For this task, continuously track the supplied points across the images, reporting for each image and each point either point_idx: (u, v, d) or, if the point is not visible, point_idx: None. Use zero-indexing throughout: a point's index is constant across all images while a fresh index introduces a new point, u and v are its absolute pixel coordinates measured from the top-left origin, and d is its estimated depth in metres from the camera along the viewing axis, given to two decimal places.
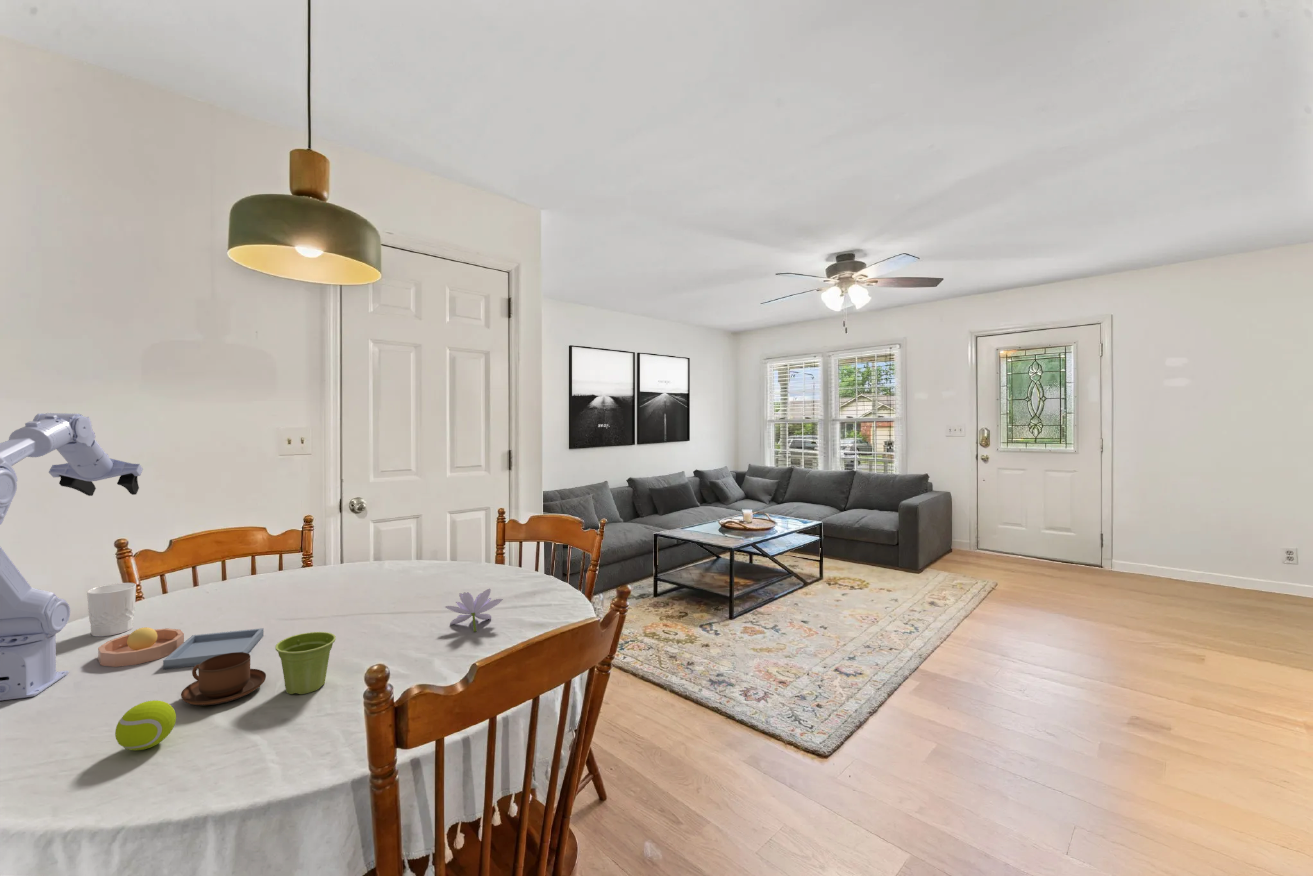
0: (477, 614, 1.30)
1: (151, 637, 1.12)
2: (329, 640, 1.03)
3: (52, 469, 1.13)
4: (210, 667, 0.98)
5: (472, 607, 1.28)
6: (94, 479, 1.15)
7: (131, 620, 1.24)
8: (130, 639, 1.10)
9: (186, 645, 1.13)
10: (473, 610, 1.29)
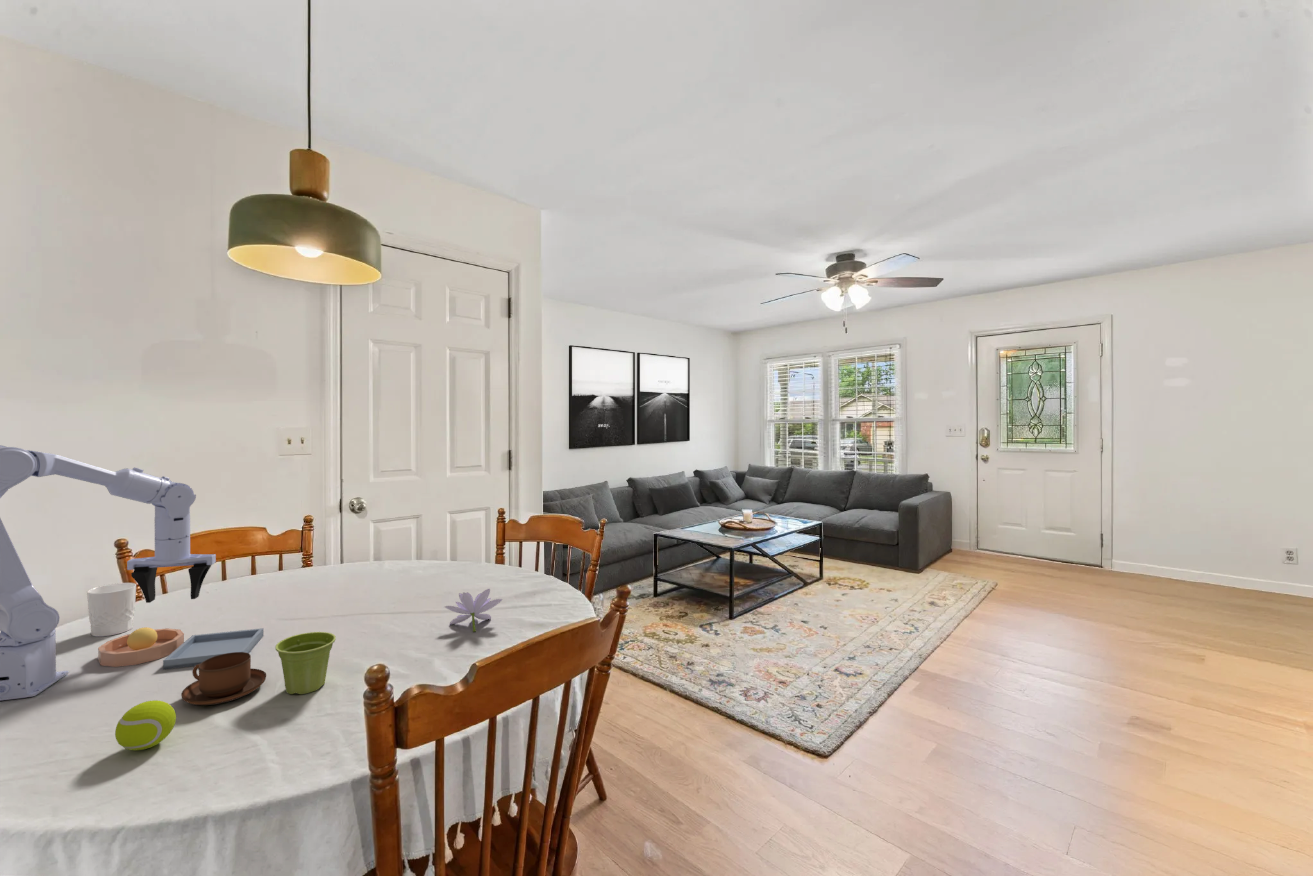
0: (476, 614, 1.30)
1: (151, 637, 1.12)
2: (329, 640, 1.03)
3: (130, 560, 1.13)
4: (210, 667, 0.98)
5: (471, 607, 1.28)
6: (170, 561, 1.14)
7: (131, 620, 1.24)
8: (130, 639, 1.10)
9: (186, 645, 1.13)
10: (472, 610, 1.29)
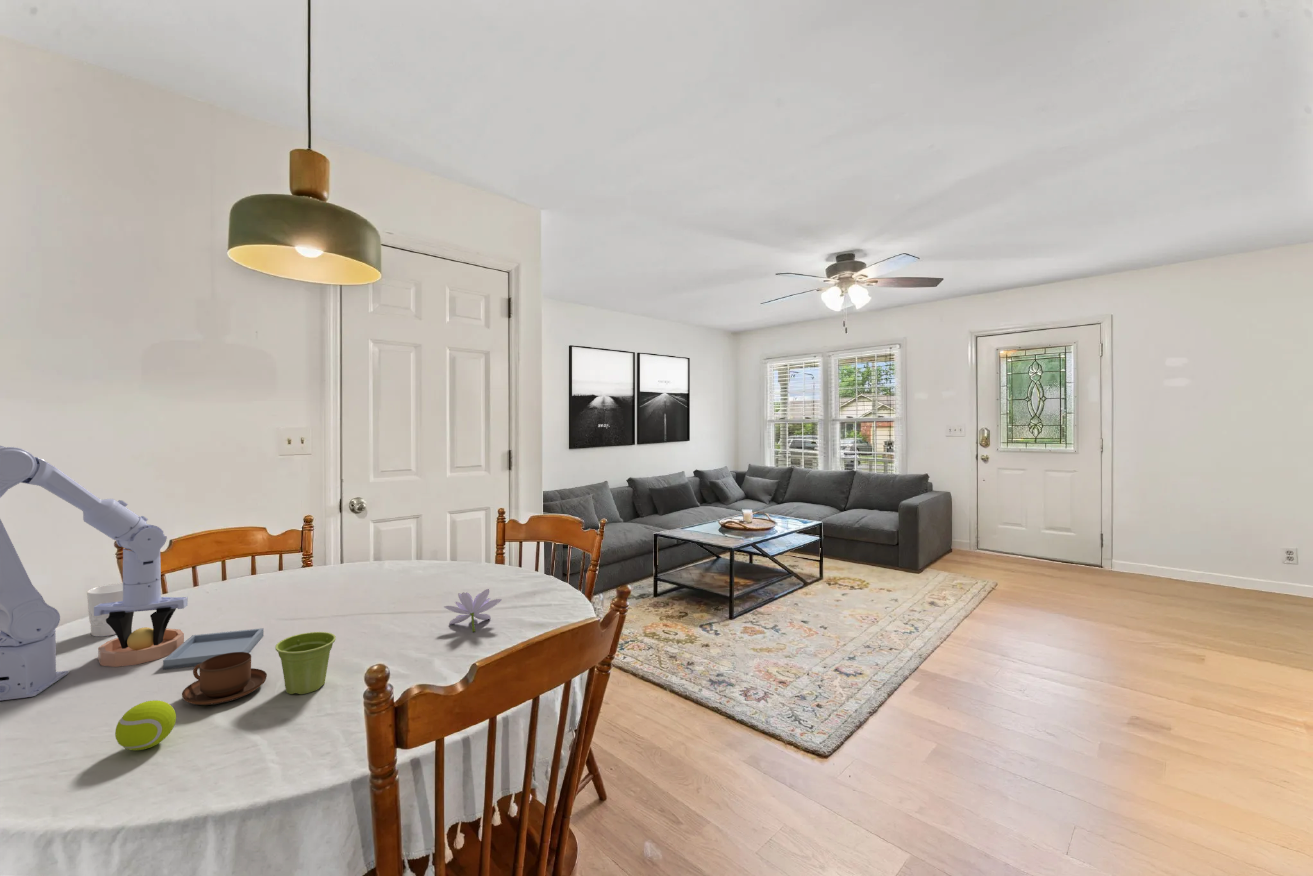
0: (476, 614, 1.30)
1: (151, 637, 1.12)
2: (329, 640, 1.03)
3: (98, 605, 1.09)
4: (210, 666, 0.98)
5: (471, 607, 1.28)
6: (138, 607, 1.10)
7: None
8: (130, 639, 1.10)
9: (186, 645, 1.13)
10: (472, 610, 1.29)
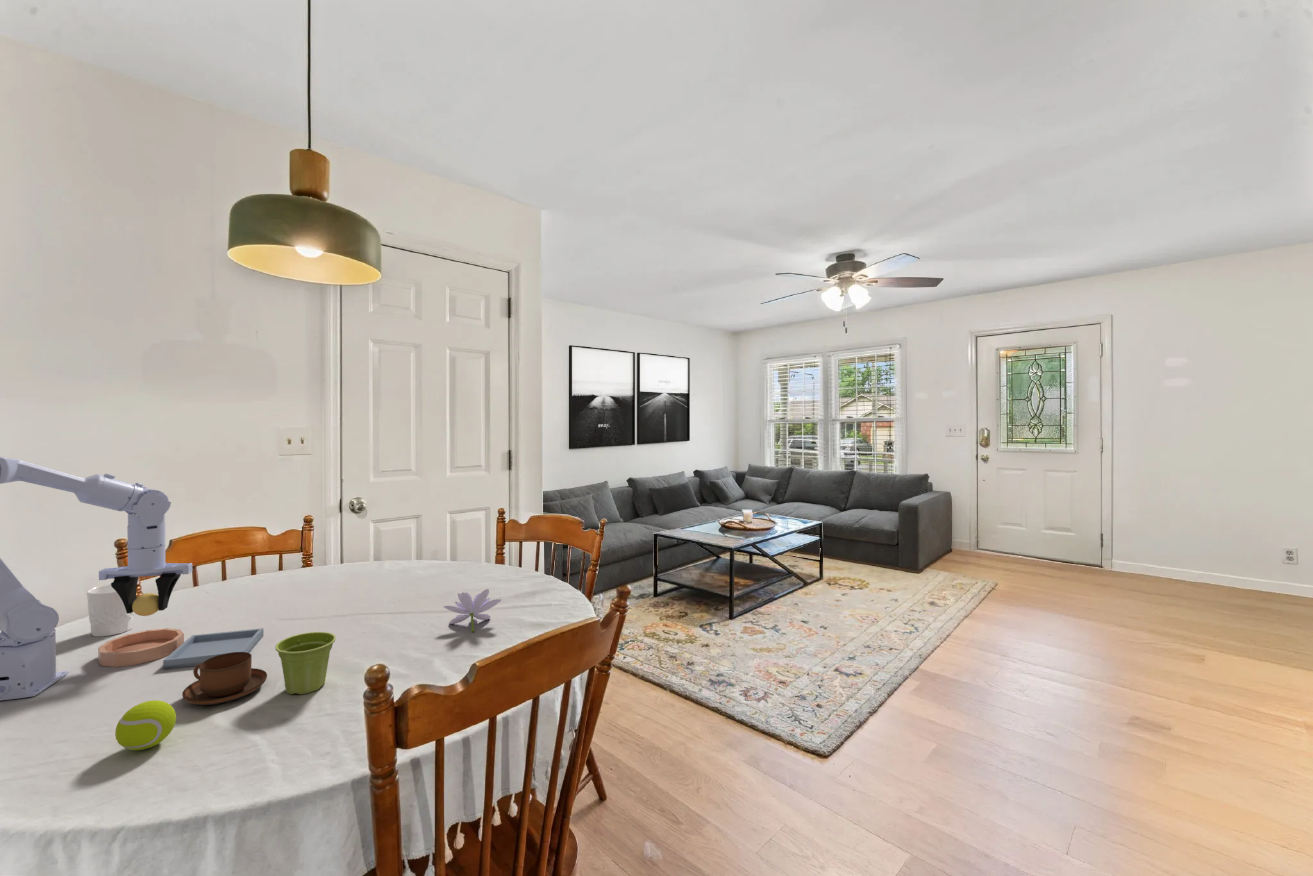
0: (475, 614, 1.30)
1: (156, 602, 1.12)
2: (329, 640, 1.03)
3: (102, 570, 1.09)
4: (211, 666, 0.98)
5: (470, 607, 1.28)
6: (143, 571, 1.09)
7: (131, 620, 1.24)
8: (135, 604, 1.10)
9: (186, 645, 1.13)
10: (471, 610, 1.29)
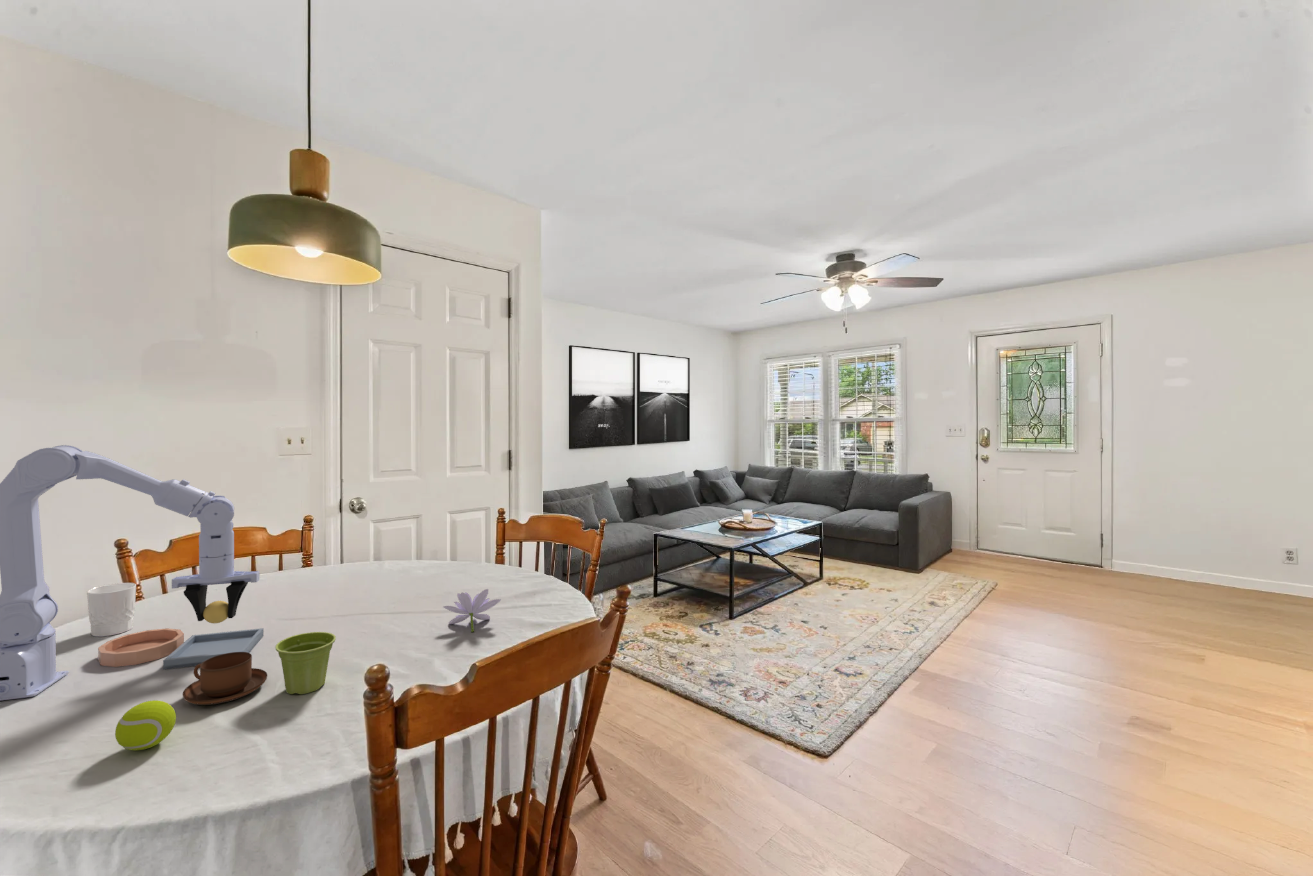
0: (475, 614, 1.30)
1: (226, 610, 1.13)
2: (329, 640, 1.03)
3: (175, 578, 1.11)
4: (211, 666, 0.98)
5: (470, 607, 1.28)
6: (215, 579, 1.11)
7: (131, 620, 1.24)
8: (207, 612, 1.11)
9: (186, 645, 1.13)
10: (471, 610, 1.29)
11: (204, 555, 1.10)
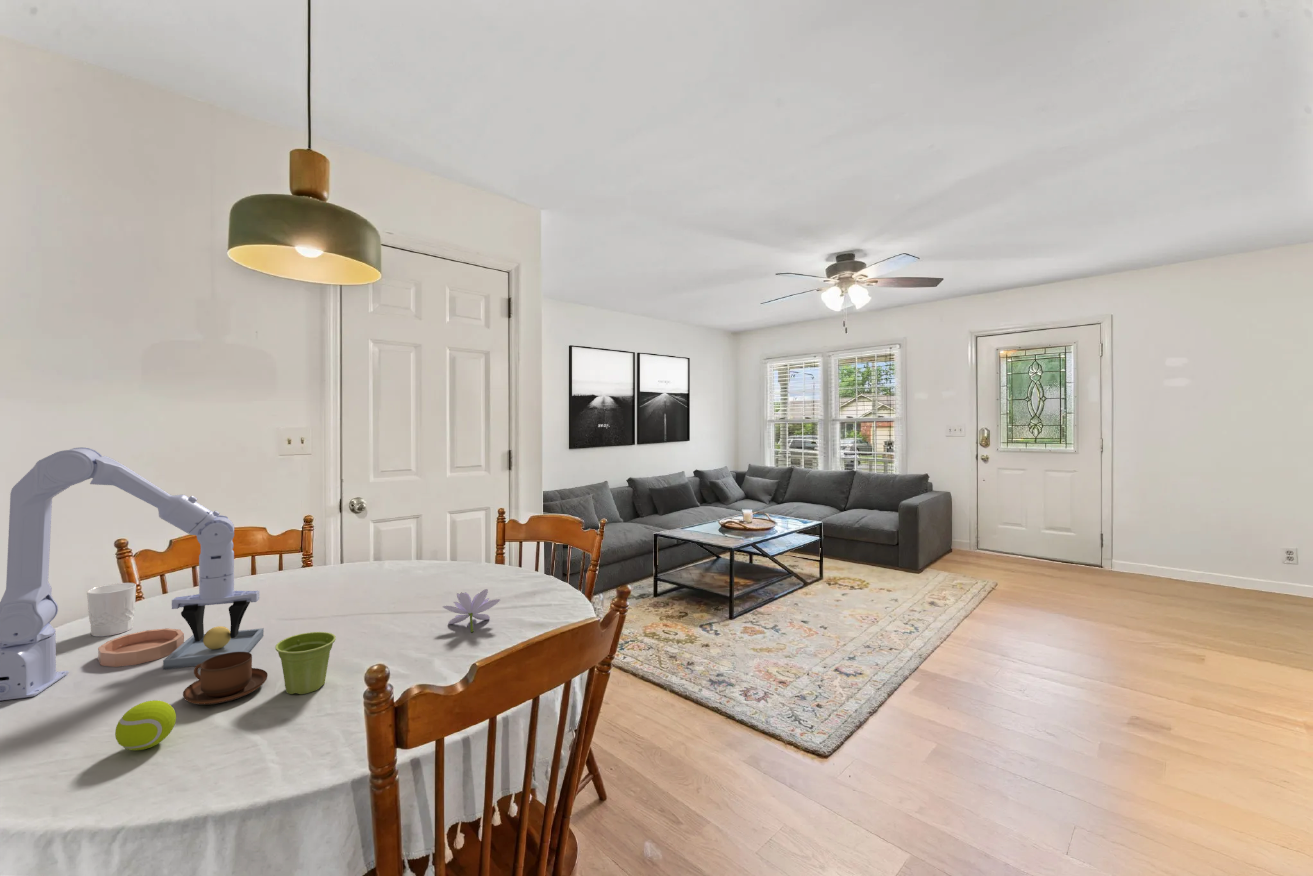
0: (474, 614, 1.30)
1: (226, 636, 1.14)
2: (329, 640, 1.03)
3: (175, 599, 1.11)
4: (211, 666, 0.98)
5: (469, 607, 1.28)
6: (215, 600, 1.11)
7: (131, 620, 1.24)
8: (207, 638, 1.12)
9: (186, 645, 1.13)
10: (470, 610, 1.29)
11: (204, 576, 1.10)
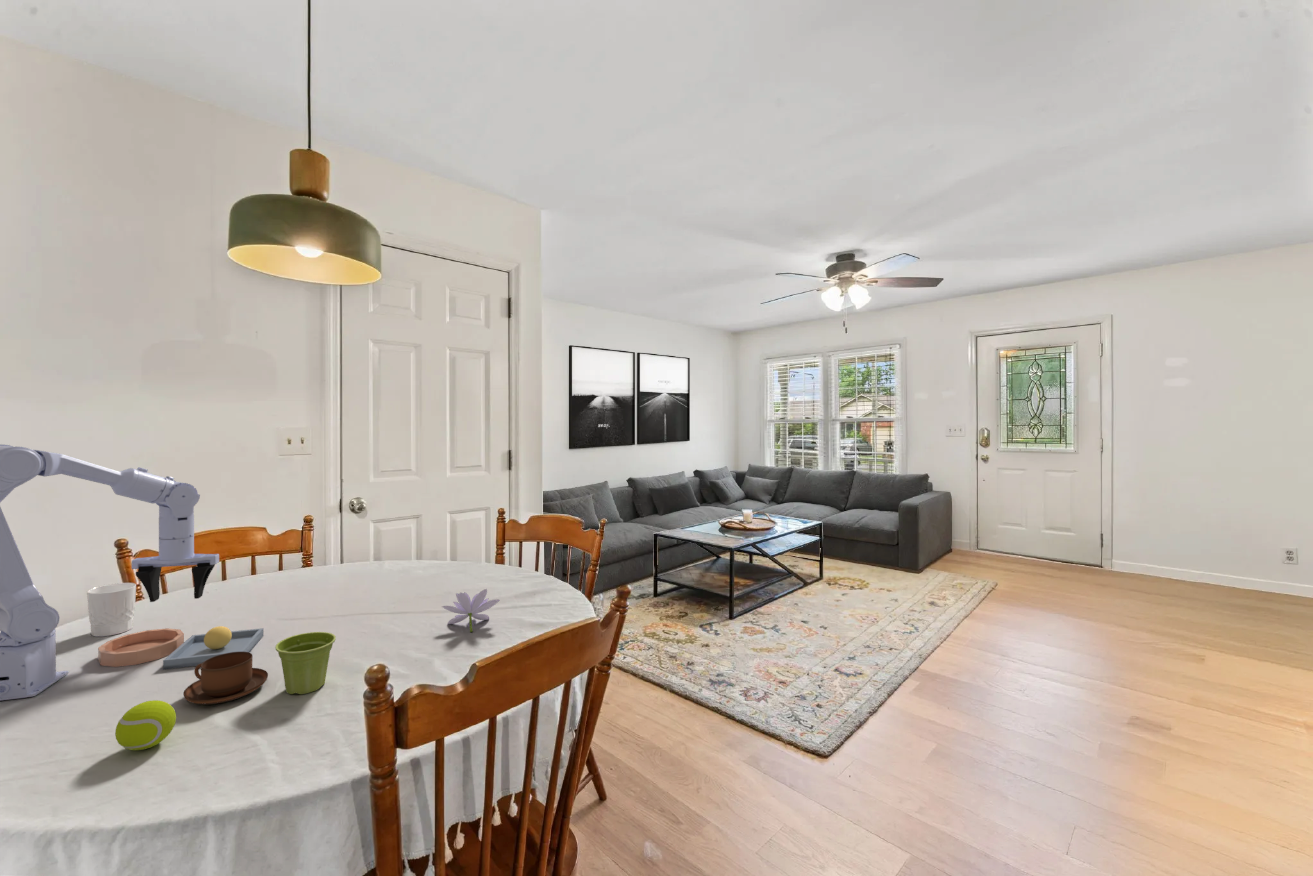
0: (474, 614, 1.30)
1: (227, 636, 1.14)
2: (329, 640, 1.03)
3: (135, 559, 1.14)
4: (212, 666, 0.98)
5: (469, 607, 1.28)
6: (173, 561, 1.14)
7: (131, 620, 1.24)
8: (207, 637, 1.12)
9: (186, 645, 1.13)
10: (470, 610, 1.29)
11: (170, 537, 1.14)
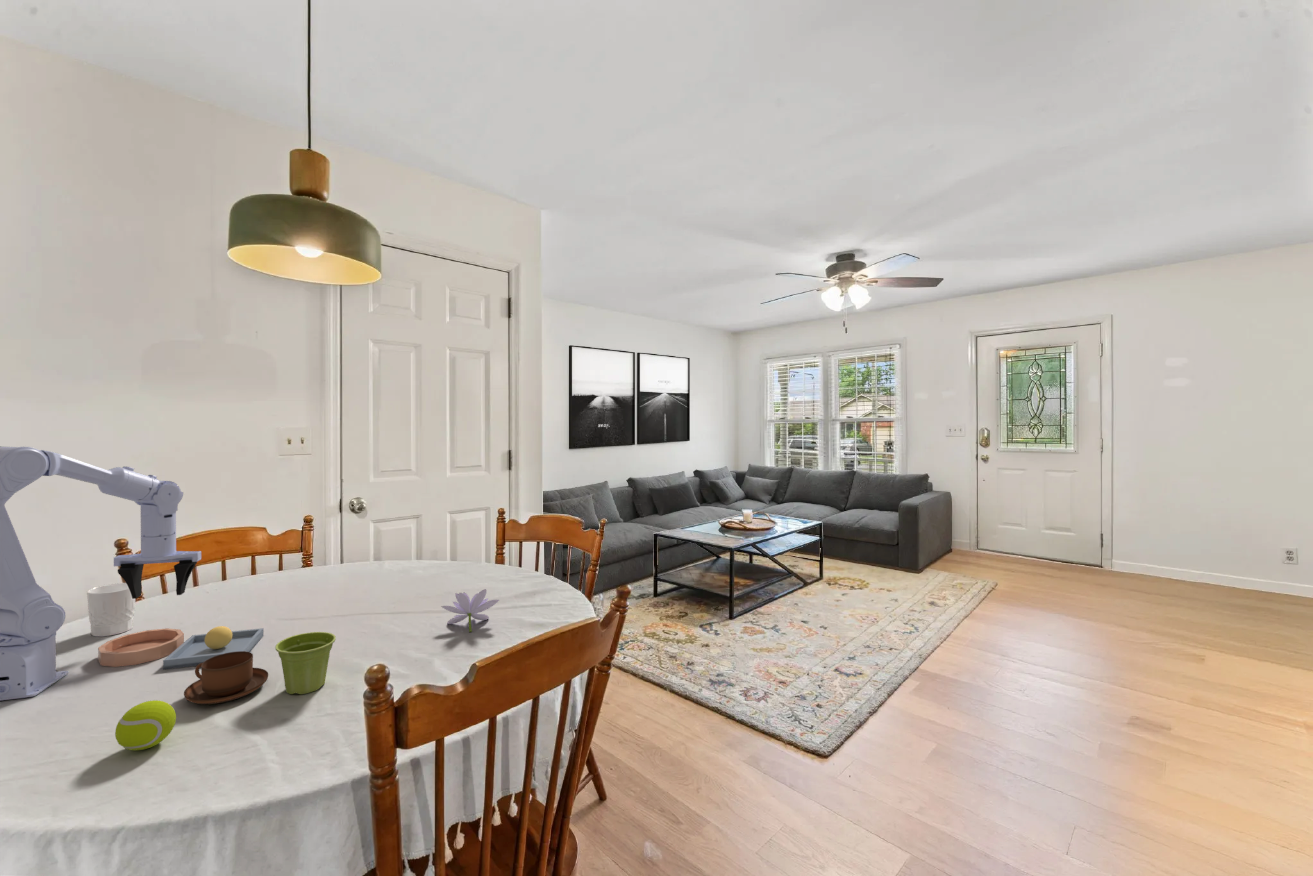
0: (473, 614, 1.30)
1: (228, 636, 1.14)
2: (329, 640, 1.03)
3: (117, 557, 1.16)
4: (212, 666, 0.98)
5: (468, 607, 1.28)
6: (155, 558, 1.16)
7: (131, 620, 1.24)
8: (208, 637, 1.12)
9: (186, 645, 1.13)
10: (469, 610, 1.29)
11: (156, 534, 1.16)
